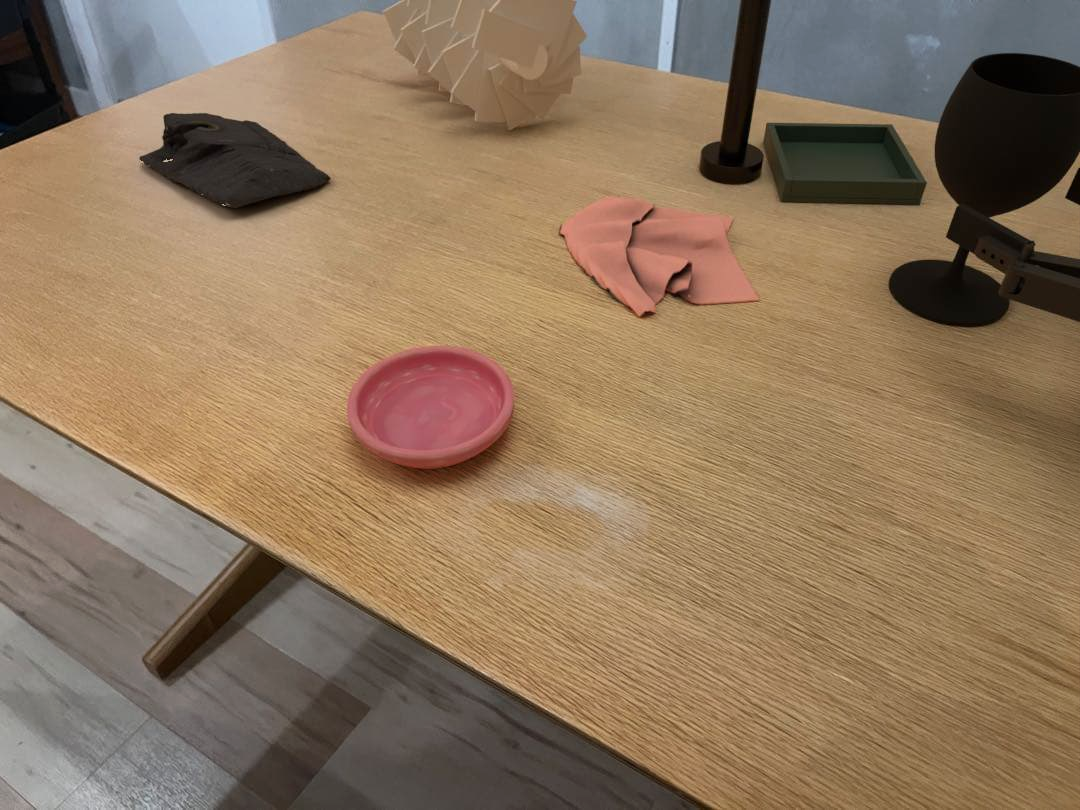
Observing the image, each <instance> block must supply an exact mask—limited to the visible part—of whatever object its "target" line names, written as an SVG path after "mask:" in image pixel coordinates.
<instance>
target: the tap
mask: <svg viewBox="0 0 1080 810" xmlns="http://www.w3.org/2000/svg"><path fill="white" fill-rule="evenodd" d="M771 4H772V0H740V1H739V9H738V16H737V22H736V29H735V34H734V35H735V36H734V41H733V42H734V43H733V51H732V58H731V64H730V72H729V79H728V85H727V92H726V98H725V100H726V101H725V107H724V113H723V120H722V121H723V122H722V127H721V134H720V135H721V136H720V140H718V141H712V142H710V143H708V144H705V146H703V147H702V148H701V151H700V156H699V157H700V158H699V165H698V170H699V172H700V174H701V175H702V176H703V177H704V178H706V179H707V180H710V181H712V182H715V183H719V184H724V185H743V184H749V183H753V182H754V181H756V180H758V179H759V178H760V177H761V174H762V170H763V165H764V160H765V159H764V158H765V155H764V152H763V150H761V149H760V148H759V147H757V146H756V145H753V144H752V143H749V138H750V132H751V128H752V127H751V125H752V121H753V113H754V108H755V102H756V96H757V90H758V85H759V82H758V81H759V78H760V73H761V72H760V71H761V67H762V66H761V65H762V60H763V59H762V58H763V54H764V47H765V42H766V34H767V29H768V24H769V23H768V22H769V17H770V10H771V6H772V5H771Z"/></svg>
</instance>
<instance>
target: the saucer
mask: <svg viewBox="0 0 1080 810" xmlns="http://www.w3.org/2000/svg"><path fill="white" fill-rule="evenodd" d="M515 397H516V396H515V388H514V386H513V382H512V380H511V378H510V376H509V375H508V373H507V372H506V371H505V370H504V368H503V367H502V366H501V365H500V364H498V362H496V361H495V360H493V359H492V358H490V357H488V356H487V355H485V354H483V353H480V352H478V351H476V350H473V349H468V348H465V347H459V346H453V345H426V346H419V347H414V348H409V349H405V350H401V351H399V352H396V353H393V354H391V355H389V356H386V357H384V358H382V359H381V360H379V361H377V362H375V363H374V364H373V365H371V366H370V367H369V368H367V369H366V370H365V371H364V372H363V373H362V374H361V375H360V376H359V377H358V378H357V379H356V381H355V382H354V384H353V386H352V388H351V389H350V392H349V394H348V397H347V400H346V401H347V403H346V415H347V420H348V423H349V427H350V429H351V432H352V434H353V435H354V437H355V438H356V439H357V441H358V442H359V443H360V444H361V445H362V446H363V448H365V449H366V450H368V451H369V452H371V453H372V454H374V455H375V456H377V457H378V458H379V457H380V458H382V459H384V460H385V461H388V462H391V463H394V464H397V465H399V466H405V467H409V468H414V469H421V470H434V469H443V468H447V467H451V466H455V465H458V464H460V463H463V462H465V461H468V460H469V459H472V458H474V457H475V456H477V455H479V454H480V453H482V452H483V451H485V450H486V449H489V447H490V446H491V445H492V444H494V443H496V441H497V440H499V438H501V436H502V435H503V434H504V433H505V431H506V430H507V428H508V426H509V425H510V423H511V420H512V419H513V415H514V412H515V406H516V405H515V404H516V399H515Z"/></svg>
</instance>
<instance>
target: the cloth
mask: <svg viewBox="0 0 1080 810" xmlns="http://www.w3.org/2000/svg"><path fill="white" fill-rule="evenodd" d="M733 221H734V217H729V216H723V215H716V214H710V213H703V212H697V211H689V210H684V209H676V208H670V207H669V208H668V207H661V206H656V205H655V204H654V203H651V202H649V201H646V200H643V199H637V198H634V197H627V198H624V197H620V196H619V195H607V196H605V197H602V198H600V199H599V200H597V201H594V202H591V203H590V204H588V205H587V206H586V207H584V208H581V209H580V210H578V211H576V212H575V213H574V214H573V215H572V216H571V217H570V218H568V219H567V220H565V221H564V222H563V223H562V224H560V226H559V230H558V234H560V235H562V236H564V239H565V240H564V241H565V244H566V246H567V249H568V251H569V253H570V255H571V256H572V257H573V258H574V261H575V262H576V263H577V264H578V266H579V267H581V268H583V270H584V272H585V273H586V274H587V275H588V276H589V277H591V279H593V280H595V282H596V283H597V285H598V286H599V287H600V288H602V289H603V290H605V291H606V292H608V293H611V294H612V295H613V296H614V298H615V299H616V300H618V301H619V302H620V303H621V304H623V305H625V306H627V307H629V308H631V309H632V310H633V311H634V313H635V314H636V315H637V317H639V318H640V317H642V316H643V315H645V314H646V313H647V312H652V313H653V314H656V313H657V308H656V305H657V304H659V303H660V302H661V300H662V299H663V298H664V297H665V293H666V291H667V292H669V293H670V294H673V295H677V296H679V297H681V298H682V299H684V300H685V301H688V302H690V303H692V304H696V305H720V304H721V305H722V304H731V303H732V304H733V303H734V304H735V303H736V304H737V303H747V302H760V298H759V296H758V295H757V293H756V291H755V289H754V287H753V286H752V284H751V282H750V281H749V279H748V277H747V275H746V274H745V272H744V271H743V269H742V267H741V266H740V264H739V263H738V261H737V259H736V257H735V255H734V254H733V253H732V250H731V248H730V244H729V241H728V238H727V235H728V233H729V230H730V228H731V226H732V224H733Z"/></svg>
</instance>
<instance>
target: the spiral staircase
mask: <svg viewBox="0 0 1080 810" xmlns="http://www.w3.org/2000/svg"><path fill="white" fill-rule="evenodd" d="M576 5H577V0H400V1H397V2H396V3H394V4H392V5H390V6H389V7H387V8H386V9H384V10H382V13H383V16H384V18H385V20H386V23H387V25H388V28H389V29H390V32H391V35H392V36H393V39H394V41H395V43H394V45H393V47H392V49H393V50H394V51H396V52H397V53H398V54H399V55H401V56H402V57H404V58H405V59H406V60H408V61H409V62H410V63H412V64H413V65H412V67H414V68H415V69H416V75H417V76H429V77H430V78H431V79H433V80H435V81H437V82H438V91H439V92H448V93H450V96H449V97H450V98H449V103H450V104H457V105H464V106H467V107H468V108H469V109H471V110H472V111H474V112H475V113H474V122H476V123H504V124H506V128H507V130H508V131H512V130H513V129H516V128H517V127H518V126H521V125H522V124H524V123H526V122H527V121H529V120H530V119H533V118H534V117H536V116H537V117H538V119H540V120H541V121H544V120H545V118H546V117H547V115H548V114H549V113H550V111H551V110H552V108H553V107H554V106H555V103H556V102H557V100H558V99H559V98H560V96H561V95H571V93H572V90H573V89H572V88H573V84H574V79H575V78H577V77H580V76H582V64H581V62H582V61H581V50H580V48H581V47H580V45H581V44H582V43H583V42H584V41H585V40H586V39H587V38H588V35H587V33H586V32H585V30H584V29H583V27H582V25H581V23H580V22H579V20H578V19H577V17H576V15H575V14H574V11H575V8H576Z"/></svg>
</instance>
